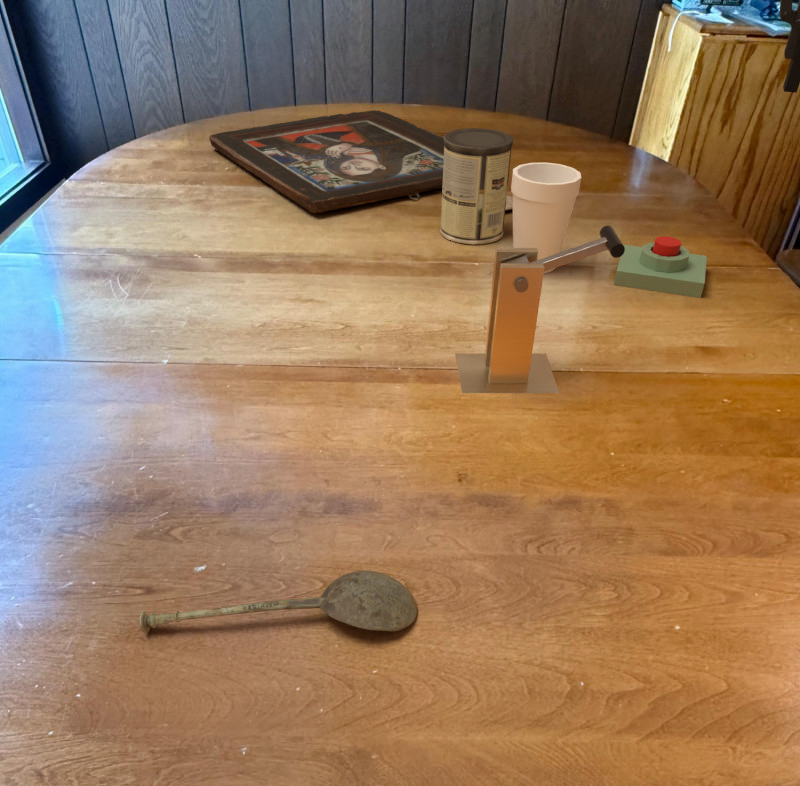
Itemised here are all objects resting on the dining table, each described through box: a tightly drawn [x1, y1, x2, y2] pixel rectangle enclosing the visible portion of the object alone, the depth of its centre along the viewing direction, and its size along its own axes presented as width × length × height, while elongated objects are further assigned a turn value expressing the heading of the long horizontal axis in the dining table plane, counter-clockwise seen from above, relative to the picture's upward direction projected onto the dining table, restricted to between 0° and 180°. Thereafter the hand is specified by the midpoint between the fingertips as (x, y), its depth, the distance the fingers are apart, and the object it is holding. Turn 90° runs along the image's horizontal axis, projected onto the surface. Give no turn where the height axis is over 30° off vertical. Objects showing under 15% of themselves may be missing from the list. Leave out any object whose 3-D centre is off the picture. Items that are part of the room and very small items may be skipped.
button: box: [652, 236, 682, 257], centre depth 110 cm, size 4×4×2 cm
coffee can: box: [439, 127, 514, 245], centre depth 119 cm, size 10×10×14 cm
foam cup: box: [510, 161, 582, 274], centre depth 111 cm, size 10×9×13 cm
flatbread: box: [505, 195, 513, 212], centre depth 133 cm, size 8×8×1 cm
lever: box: [503, 225, 625, 272], centre depth 81 cm, size 12×5×2 cm, turn 92°
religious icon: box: [208, 110, 444, 214], centre depth 148 cm, size 40×45×3 cm
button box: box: [613, 241, 708, 299], centre depth 111 cm, size 12×10×4 cm
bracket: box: [454, 247, 560, 395], centre depth 85 cm, size 11×9×15 cm
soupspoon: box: [138, 570, 419, 634], centre depth 62 cm, size 22×3×7 cm
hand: (789, 89), depth 97 cm, fingers closed
